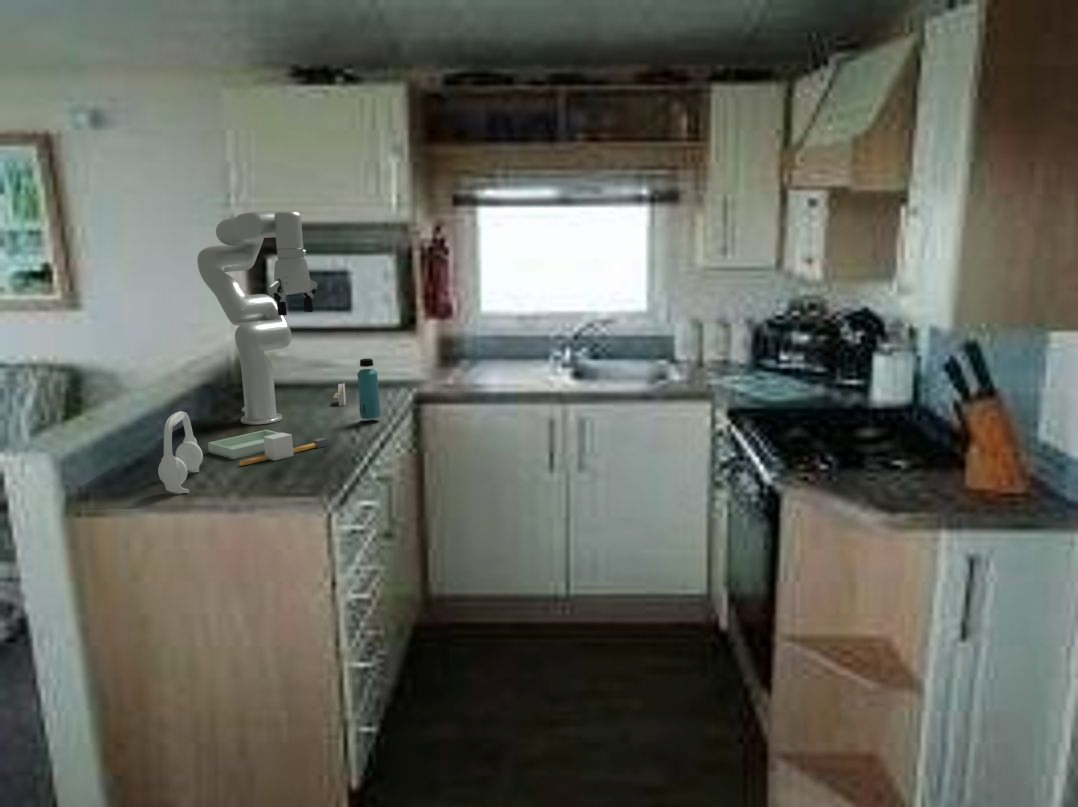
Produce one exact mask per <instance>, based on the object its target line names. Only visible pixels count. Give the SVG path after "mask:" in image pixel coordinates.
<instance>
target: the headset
mask: <svg viewBox="0 0 1078 807" xmlns="http://www.w3.org/2000/svg"><path fill="white" fill-rule="evenodd" d="M181 421H182V424H183V430H184V435H185V436H184V438H183V441H182V443H180V444H179V446H178V447H177V448H176V450H175V455H173V444H172V442H173V441H172V440H173V437H172V436H173V427H174V426H176V425H177V424H179V423H180V422H181ZM203 457H204V455H203V451H202V449H201V447H200V446H199V444H198V441H197V439H196V437H195V436H194V433H193V428H192V423H191V420H190V417H189V414H188V413H187V412H184V411H182V410H181V411H177V412H175V413H173V414H171V415H170V416H169V417H168V418H167V420H166V422H165V425H164V430H163V457H162V458H161V461H160V463H159V465H158V469H157V470H158V471H157V472H158V476H159V479H160V481H161V482H162V483H163V484H164V487H165V490H166V491H167V492H170V493H175V494H182V493H188V494H190V490H189V489H188V488H184V487H182V486H181V485H182V484H184V483H185V481H186V479H187V477H188V472H191V473H195V472H199V473H200V466H201V464H202V463H203V460H204V458H203Z"/></svg>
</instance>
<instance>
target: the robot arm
mask: <svg viewBox="0 0 1078 807" xmlns="http://www.w3.org/2000/svg"><path fill="white" fill-rule="evenodd" d="M302 226H303V225H302V216H301V213H300V212H298V211H291V210H290V211H283V210H281V211H280V210H277V211H276V210H273V211H272V210H271V211H250V212H247V213H241V214H237V215H236V216H234V217H228V218H224V219H223V220H221V221H220V222H219V223H218V224H217V226H216V229H215V234H216V237H217V239H218V240H219V242H220V243H222V245H213V246H208V247H205V248H203V249H201V250H200V251H199V253H198V256H197V259H196V260H197V261H196V262H197V267H198V271H199V275H200V277H201V278H202V280H203V282H204V283H205V284H206V286H207V288H209V289H210V290H211V292H212V293H213V294H214V296H215V297H216V299H217V301H218V303H219V304H220V306H221V308H222V310H223V312H224V315H225V316H226V317H227V319H228V321H229V322H230V323H231V324H232V325H233V326H237V328H236V329H235V332H234V341H235V345H236V347H237V350H238V355H239V362H240V369H241V379H242V380H241V381H242V392H243V402H244V406H243V407H241V411H242V412H244V416H242V417H241V418H240V422H241V423H242V424H244V425H250V426H251V425H266V424H273V423H277V422H279V421H281V420H282V419H283V417H282V416H283V415H282V414H281V413H278V412H277V406H276V393H275V380H274V371H273V370H274V369H273V364H272V361H271V360H270V359H269V358H268V356H267V355H266V354H265V352H268V351H275V350H282V349H285V348H287V347H289V345H290V344H291V343H292V339H293V338H292V337H293V336H292V331H291V327H290V326H289V324H288V321H287V320H286V318H285V316H287V315H288V312H287V302H286V301H285V299H287V298H286V297H287V296H288V295H299V294H301V295H303V297H304V298H303V300H302V301H303V310H304V312H305V313H313V312H314V309H313V308H314V306H313V299H315V298H314V297H315V294H316V292H317V287H318V282H317V281H315V280H313V279H311V278H310V271H309V265H308V262H307V259H306V258H305V255H306V254H307V251H306V249H304V242H303V241H304V240H303V228H302ZM265 238H266V239H267V238H268V239H269V238H275V243H276V254H277V256H276V257H277V260H275V262H274V269H273V270H274V271H273V272H274V273H273V275H274V276H273V280H274V281H273V283H272V284H271V285H269V286H268V288H267V290H268V292H269V294H270V295H268V294H265V293H259V294H248V293H247V292H245V291H244V289H243V286H242V285H241V284H240V283H239V281H237V279H235V278H234V277H232V276H230V275H229V274H227V273H231V272H232V273H233V272H242V271H243V272H244V271H249V270H251V268H253V266H254V265H255V263H256V261H257V257H258V255H259V252H260V250H261V248H262V245H263V243H264V239H265Z"/></svg>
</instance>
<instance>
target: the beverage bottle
mask: <svg viewBox="0 0 1078 807" xmlns="http://www.w3.org/2000/svg"><path fill="white" fill-rule="evenodd" d="M359 366H360V367H366V368H363V369H360V370H359V371H358V372H357V373H356V376H357V388H358V399H359V401H358V404H359V416H360V418H361V419H363V420H373V419H378V418H380V416H381V402H380V399H381V398H380V392H379V379H378V371H377V370H375V369H374V368H367V367H373V366H374V360H373V358H361V359H360V360H359Z"/></svg>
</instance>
